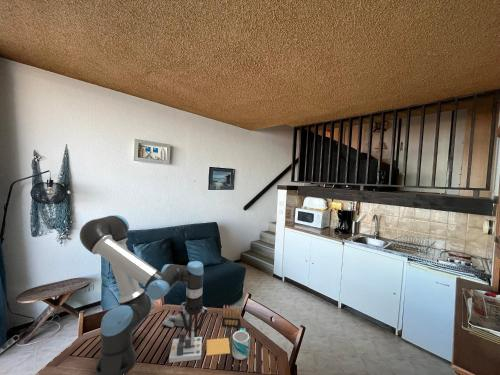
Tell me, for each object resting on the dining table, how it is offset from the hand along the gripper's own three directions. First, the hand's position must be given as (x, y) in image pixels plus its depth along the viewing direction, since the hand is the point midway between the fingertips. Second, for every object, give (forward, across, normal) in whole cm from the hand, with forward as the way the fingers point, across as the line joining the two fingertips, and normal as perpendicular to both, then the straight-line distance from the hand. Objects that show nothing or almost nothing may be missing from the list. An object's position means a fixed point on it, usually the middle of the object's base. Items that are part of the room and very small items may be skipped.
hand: (192, 343), depth 108 cm
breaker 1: (+1, -5, +4) cm, 7 cm away
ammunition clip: (+4, +20, +15) cm, 26 cm away
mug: (+4, +23, -3) cm, 24 cm away
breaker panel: (+4, -3, 0) cm, 4 cm away
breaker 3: (+1, -2, 0) cm, 2 cm away
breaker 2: (+1, -5, -4) cm, 7 cm away
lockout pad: (+3, +12, 0) cm, 13 cm away
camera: (+4, -9, +21) cm, 23 cm away
